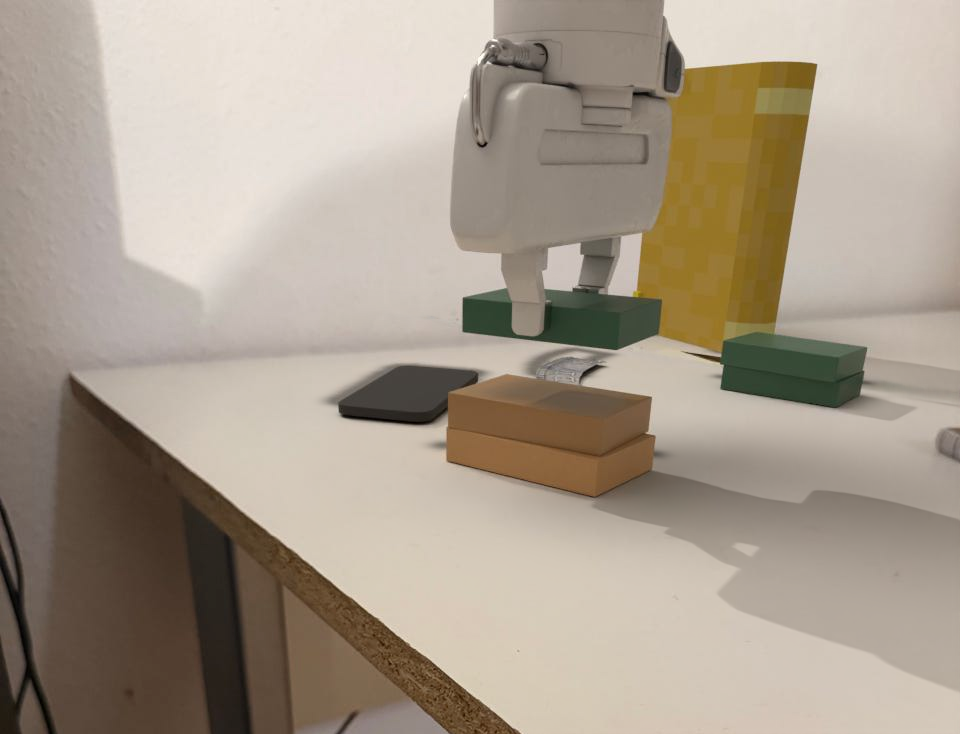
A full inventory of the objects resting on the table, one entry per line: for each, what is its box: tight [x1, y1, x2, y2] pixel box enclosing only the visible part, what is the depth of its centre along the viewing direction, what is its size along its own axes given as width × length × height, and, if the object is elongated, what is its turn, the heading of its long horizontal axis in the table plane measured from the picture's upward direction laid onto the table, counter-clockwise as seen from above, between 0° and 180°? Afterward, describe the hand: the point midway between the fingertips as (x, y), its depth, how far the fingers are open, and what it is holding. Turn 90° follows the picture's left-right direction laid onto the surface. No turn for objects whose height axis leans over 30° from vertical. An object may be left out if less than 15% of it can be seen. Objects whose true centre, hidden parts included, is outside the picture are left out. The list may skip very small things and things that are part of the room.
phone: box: [337, 365, 479, 423], centre depth 75 cm, size 7×1×15 cm
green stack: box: [719, 332, 868, 408], centre depth 81 cm, size 10×7×4 cm
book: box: [632, 60, 818, 363], centre depth 92 cm, size 17×7×25 cm, turn 27°
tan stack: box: [445, 373, 657, 498], centre depth 60 cm, size 11×8×4 cm
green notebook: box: [461, 287, 662, 351], centre depth 56 cm, size 10×6×2 cm, turn 59°
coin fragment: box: [535, 355, 607, 385], centre depth 86 cm, size 13×5×1 cm, turn 160°
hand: (561, 324), depth 57 cm, fingers closed on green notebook, 6 cm apart
